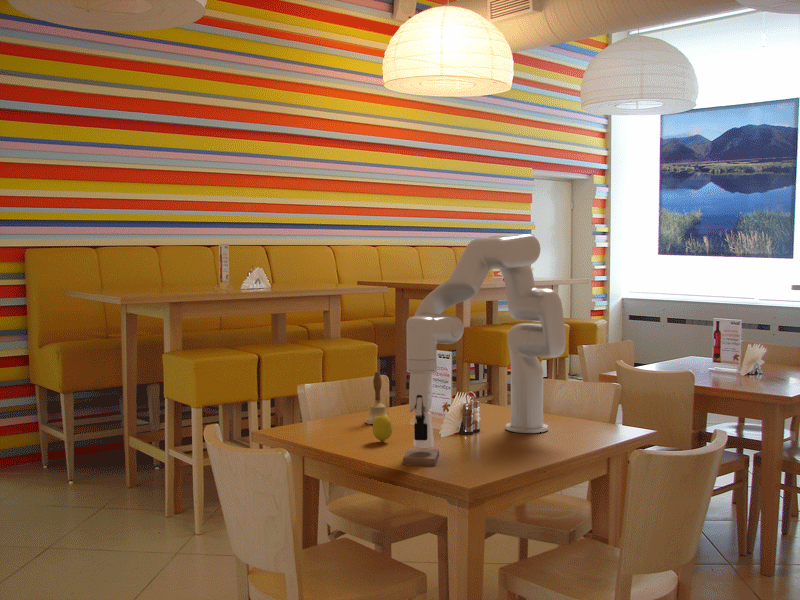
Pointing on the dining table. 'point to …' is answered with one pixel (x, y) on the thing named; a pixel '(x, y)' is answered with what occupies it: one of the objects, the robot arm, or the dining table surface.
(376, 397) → the hand bell
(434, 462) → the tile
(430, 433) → the pepper shaker
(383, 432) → the lemon
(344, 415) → the dining table surface
